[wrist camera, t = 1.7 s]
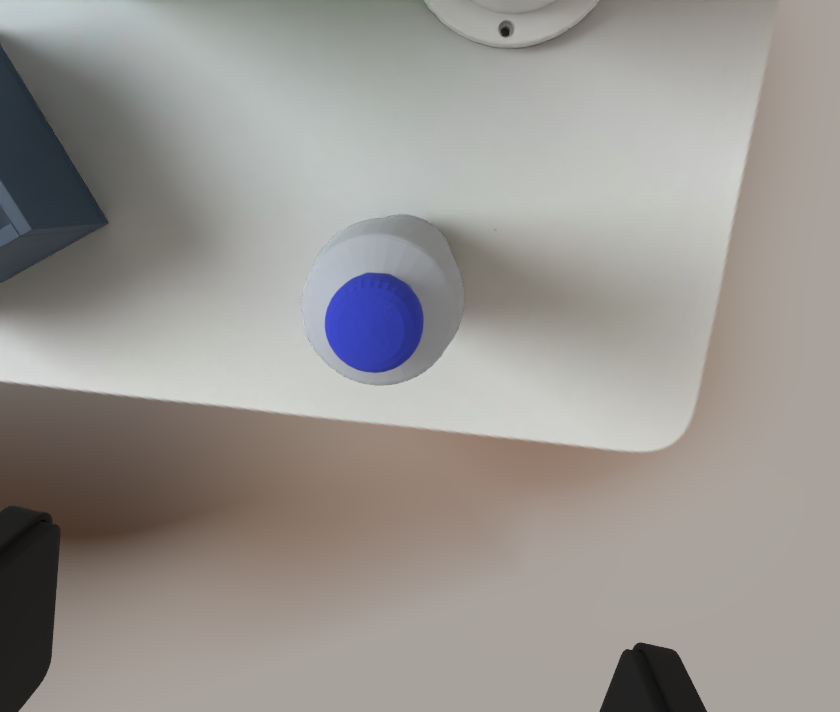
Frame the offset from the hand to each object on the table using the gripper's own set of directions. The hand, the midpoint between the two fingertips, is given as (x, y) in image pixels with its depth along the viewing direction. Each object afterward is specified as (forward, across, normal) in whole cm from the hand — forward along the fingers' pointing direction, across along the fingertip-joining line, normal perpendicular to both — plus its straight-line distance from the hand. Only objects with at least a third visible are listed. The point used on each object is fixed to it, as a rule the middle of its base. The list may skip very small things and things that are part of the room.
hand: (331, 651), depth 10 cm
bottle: (+31, +1, -2) cm, 31 cm away
